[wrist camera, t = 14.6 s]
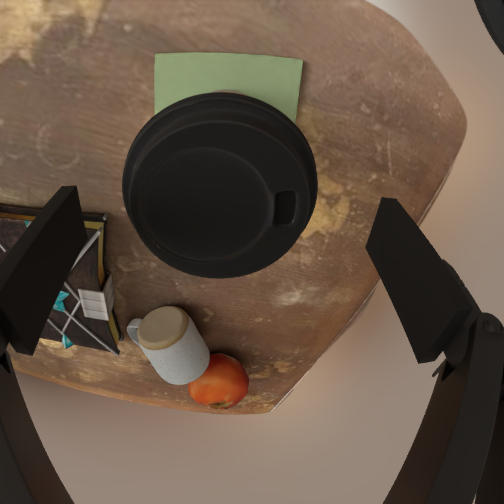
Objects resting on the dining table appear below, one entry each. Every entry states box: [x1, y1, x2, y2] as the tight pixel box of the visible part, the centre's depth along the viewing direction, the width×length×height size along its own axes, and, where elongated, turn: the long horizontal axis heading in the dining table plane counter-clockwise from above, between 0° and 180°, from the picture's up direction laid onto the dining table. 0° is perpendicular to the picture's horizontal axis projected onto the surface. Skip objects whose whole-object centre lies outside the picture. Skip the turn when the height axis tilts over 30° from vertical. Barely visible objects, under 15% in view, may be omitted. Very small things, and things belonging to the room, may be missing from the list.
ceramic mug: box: [127, 306, 210, 385], centre depth 38 cm, size 11×8×8 cm
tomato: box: [188, 353, 249, 409], centre depth 45 cm, size 9×9×8 cm
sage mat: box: [155, 52, 303, 124], centre depth 26 cm, size 12×12×1 cm
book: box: [0, 205, 124, 356], centre depth 33 cm, size 22×17×5 cm
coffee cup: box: [122, 89, 318, 279], centre depth 19 cm, size 9×9×15 cm
